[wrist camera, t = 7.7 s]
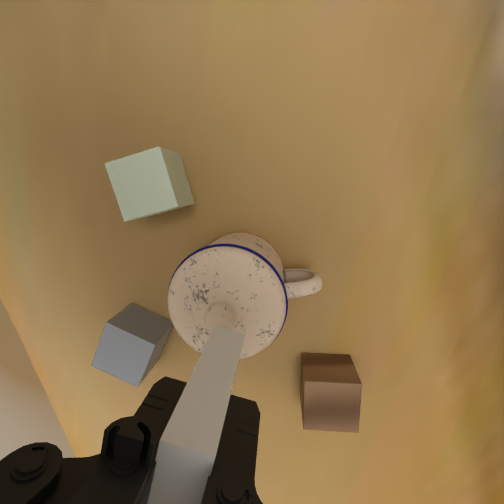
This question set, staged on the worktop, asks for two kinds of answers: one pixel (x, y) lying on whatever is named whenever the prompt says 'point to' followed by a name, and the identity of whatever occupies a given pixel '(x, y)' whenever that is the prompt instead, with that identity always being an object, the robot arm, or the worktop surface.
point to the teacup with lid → (235, 292)
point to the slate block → (132, 344)
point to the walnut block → (330, 393)
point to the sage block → (149, 183)
